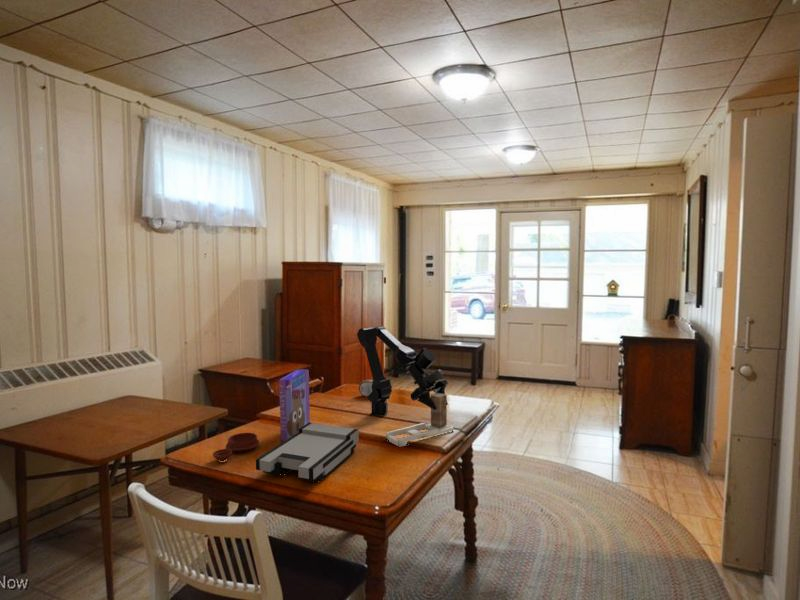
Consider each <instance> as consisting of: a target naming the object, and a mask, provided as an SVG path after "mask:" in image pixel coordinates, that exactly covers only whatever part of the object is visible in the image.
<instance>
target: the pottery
mask: <svg viewBox="0 0 800 600" xmlns="http://www.w3.org/2000/svg"><path fill="white" fill-rule="evenodd" d="M257 436H258V435H257V434H255V433H253V432H240V433H235V434H233V435H231V436H229V437H228V438H227V443H226V445H225V448H224V449H218V450H216V451H213V453H212V456H213V458H214V459H215V460H217V461H218V460H220V461H224V460H226V459H227V460H229V458H230V457H231V456H232V453H233V451H234V452H236V451H238V452H237V453H245V452H248V450H249V451H250V450H251V449H253V448H255V447H258V445H259V444H260V440H259V439H258V437H257ZM244 451H245V452H244Z"/></svg>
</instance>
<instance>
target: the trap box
mask: <svg viewBox="0 0 800 600" xmlns="http://www.w3.org/2000/svg"><path fill="white" fill-rule="evenodd" d="M425 429H426V430H428V431H425V432H419V431H420V430H425ZM453 430H455V428H454V426H453V425H450V424H447V425H446V426H444V427H441V428H438V427H434V426H431V422H430V423H426V422H421V423H418V424H417V423H416V424H414V425H410V426H406V427H401V428H399V429H394V430H390V431H387V432H386V433H385V439H386V438H387V439H388V440H389V441H388V440H387V441H388V442H389V443H392V444H394V445H396V446H397V447H399V448H400V447H405V446H407V445H406V444H407V442H408V441H410V440H415V439H420V438H424V437H429V436H434V435H437V434H441V433H445V432H449V431H453ZM406 433H407V434H409V435H410V436H407V437H403V438H400V439H397V438H395V437H393V436H396V435H401V434H406Z"/></svg>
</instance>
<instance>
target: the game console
mask: <svg viewBox="0 0 800 600" xmlns="http://www.w3.org/2000/svg"><path fill="white" fill-rule="evenodd" d="M359 432H360V429H359V428H353V427H347V426H346V427H345V426H338V425H337V426H336V425H330V424H329V425H328V424H321V423H316V422H314V423H313V422H310V423H307V424H306V425H304V426H302V427H301V428H299V432H298V433H297V434H295V435H293V436H292V437H290V438H289V439H287V440H286V441H282V442H281V443H279V444H278V445H276V446H274V447H273V448H271V449H269V450H268V451H267V452H265V453H264V454H262V455H260V456H259V457H257V458H256V459H255V470H256V471H260V472H261V471H262V473H263V474H264V473H265V474H268V473H269V475H273V474H275V475H274V476H279V475H280V474H281V475H284V474H286V473H287V472H289V471H290V470H291V471H297V472H298V474H297V475H298V476H297V477H298V480H303V481H307V480H309V481H308V482H313V481H314V483H317V482H316V481H319V482H320V481H321V480H322V479H323V478H324V479H325V478H327V477H328V476H329V475H330V474H331V473H332V472H333V471H335V470H336V469H337V468H338V467H339V466H340V465H342V463H344V462H345V461H346V460H347V459H349V457H351V455H353V454H354V453H355V448H356V447H357V444H358V443H359V441H360V438H359V436H360V433H359ZM291 471H290V472H291ZM290 472H289V473H290ZM287 474H288V473H287ZM287 474H286V475H287ZM328 474H329V475H328ZM327 475H328V476H327ZM326 476H327V477H326ZM324 479H323V480H324ZM323 480H322V481H323ZM322 481H321V482H322ZM321 482H320V483H321Z"/></svg>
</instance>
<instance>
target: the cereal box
mask: <svg viewBox="0 0 800 600" xmlns="http://www.w3.org/2000/svg"><path fill="white" fill-rule="evenodd" d="M309 373H310V371H309V369H305V368H301V369H300V368H299V369H296V370H294V371H292V372H290V373H289V374H287V375H286V376H283V377H282V378H280V379H279V380H278V386H279V388H278V389H279V417H280V418H279V419H280V420H279V422H280V423H279V424H280V441H282V442H284V441H286V440H287V439H289V438H290V437H292V436H293V435H295V434H297V433H298V432H299V428H301V427H302V426H304V425H306V424H307V423H311V416H310V415H311V413H310V410H311V408H310V407H311V406H310V374H309Z"/></svg>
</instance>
